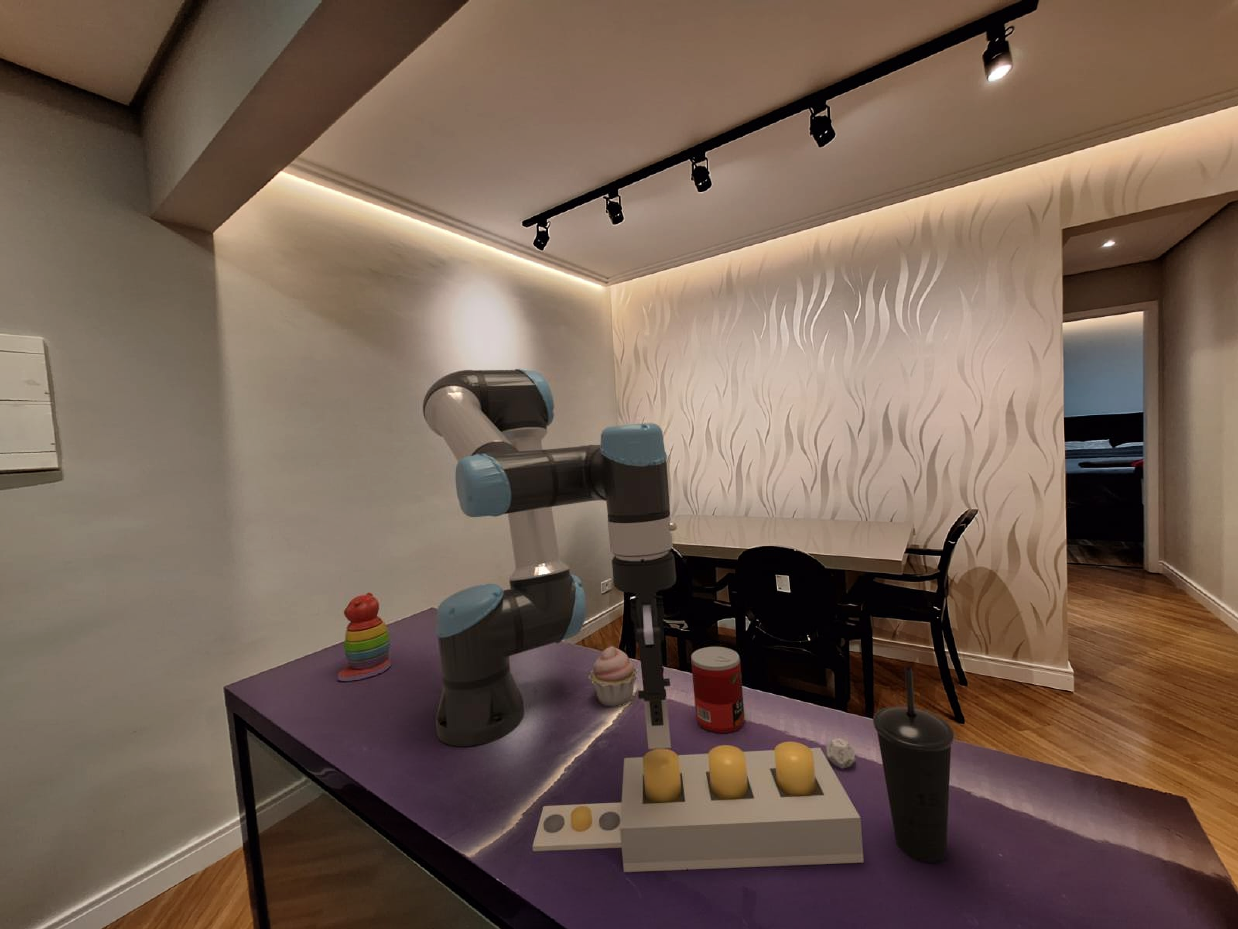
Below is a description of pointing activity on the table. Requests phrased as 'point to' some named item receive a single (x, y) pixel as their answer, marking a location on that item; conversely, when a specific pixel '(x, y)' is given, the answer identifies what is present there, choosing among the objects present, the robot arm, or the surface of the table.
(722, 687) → the canned food
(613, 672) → the cupcake
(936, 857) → the drinking cup
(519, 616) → the robot arm
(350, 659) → the stacking bear
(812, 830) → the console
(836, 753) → the game die
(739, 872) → the table surface
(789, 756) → the button right
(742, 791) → the button mid
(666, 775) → the button left
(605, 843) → the pattern card
